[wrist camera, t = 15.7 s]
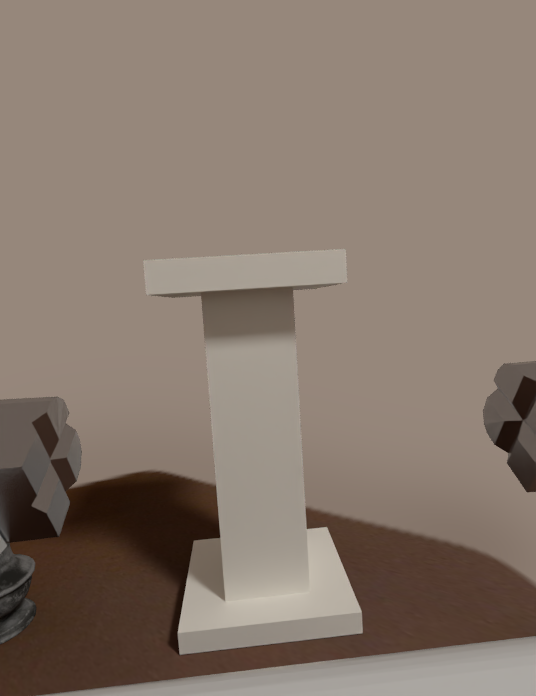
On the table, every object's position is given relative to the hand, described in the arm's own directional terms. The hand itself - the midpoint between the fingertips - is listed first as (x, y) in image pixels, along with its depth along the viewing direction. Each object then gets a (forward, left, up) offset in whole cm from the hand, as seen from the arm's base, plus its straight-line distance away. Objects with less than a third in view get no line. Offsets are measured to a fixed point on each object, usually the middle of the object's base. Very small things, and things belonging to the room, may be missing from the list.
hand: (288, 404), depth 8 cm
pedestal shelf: (0, +24, -20) cm, 31 cm away
